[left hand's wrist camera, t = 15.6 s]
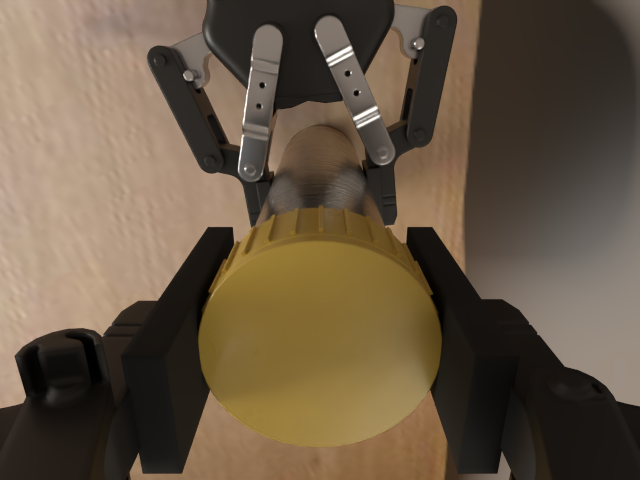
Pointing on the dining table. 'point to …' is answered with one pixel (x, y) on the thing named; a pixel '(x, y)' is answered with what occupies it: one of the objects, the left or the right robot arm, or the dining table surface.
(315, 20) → the right robot arm
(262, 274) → the lid
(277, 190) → the bottle
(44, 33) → the dining table surface
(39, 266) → the dining table surface
